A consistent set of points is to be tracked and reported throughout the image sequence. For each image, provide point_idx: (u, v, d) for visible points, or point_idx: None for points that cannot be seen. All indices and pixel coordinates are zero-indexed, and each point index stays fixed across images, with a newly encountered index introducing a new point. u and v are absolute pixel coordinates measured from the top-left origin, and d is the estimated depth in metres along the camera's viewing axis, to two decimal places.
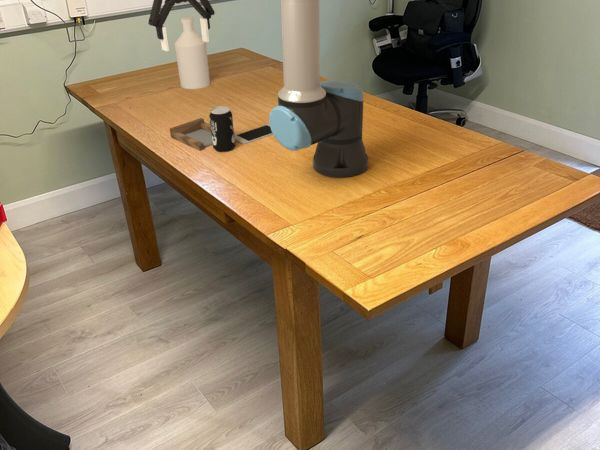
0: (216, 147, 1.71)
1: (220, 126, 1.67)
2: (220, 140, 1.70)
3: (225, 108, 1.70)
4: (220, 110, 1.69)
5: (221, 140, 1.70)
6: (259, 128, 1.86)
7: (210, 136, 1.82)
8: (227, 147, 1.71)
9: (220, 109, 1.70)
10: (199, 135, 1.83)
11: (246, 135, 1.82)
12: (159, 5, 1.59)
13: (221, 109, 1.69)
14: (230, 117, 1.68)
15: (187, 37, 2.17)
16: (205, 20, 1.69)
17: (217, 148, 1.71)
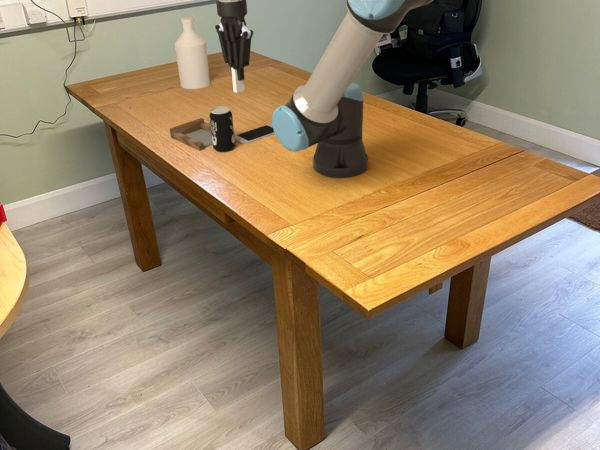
0: (216, 147, 1.71)
1: (220, 126, 1.67)
2: (220, 140, 1.70)
3: (225, 108, 1.70)
4: (220, 110, 1.69)
5: (221, 140, 1.70)
6: (259, 128, 1.86)
7: (210, 136, 1.82)
8: (227, 147, 1.71)
9: (220, 109, 1.70)
10: (199, 135, 1.83)
11: (246, 135, 1.82)
12: (221, 41, 1.54)
13: (221, 109, 1.69)
14: (230, 117, 1.68)
15: (187, 37, 2.17)
16: (233, 69, 1.54)
17: (217, 148, 1.71)
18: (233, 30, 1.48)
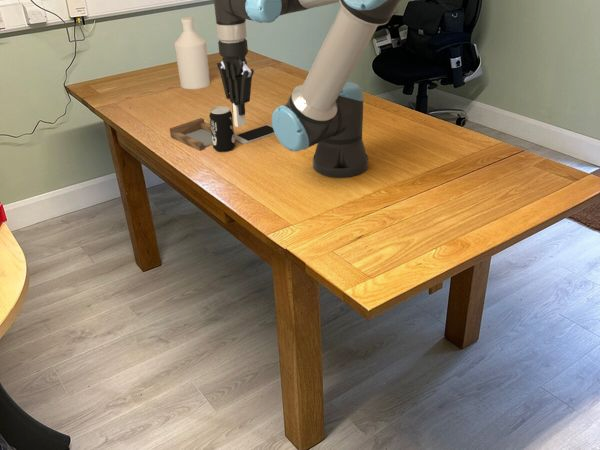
0: (216, 147, 1.71)
1: (220, 126, 1.67)
2: (220, 140, 1.70)
3: (225, 108, 1.70)
4: (220, 110, 1.69)
5: (221, 140, 1.70)
6: (259, 128, 1.86)
7: (210, 136, 1.82)
8: (227, 147, 1.71)
9: (220, 109, 1.70)
10: (199, 135, 1.83)
11: (246, 135, 1.82)
12: (222, 78, 1.59)
13: (221, 109, 1.69)
14: (230, 117, 1.68)
15: (187, 37, 2.17)
16: (235, 105, 1.60)
17: (217, 148, 1.71)
18: (234, 69, 1.53)
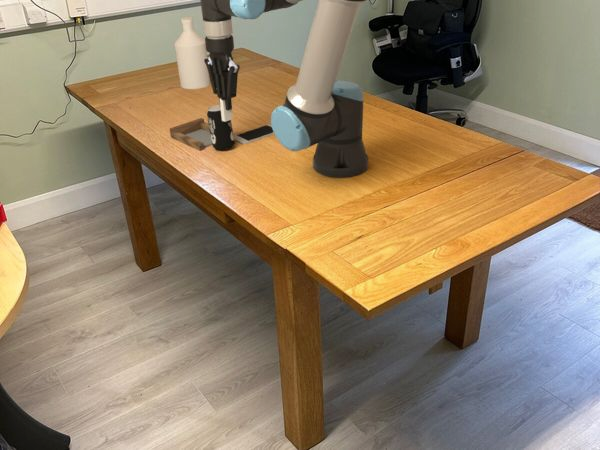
0: (215, 145, 1.71)
1: (218, 123, 1.68)
2: (219, 138, 1.70)
3: None
4: (217, 108, 1.70)
5: (220, 138, 1.70)
6: (259, 128, 1.86)
7: (210, 136, 1.82)
8: (226, 144, 1.71)
9: (218, 107, 1.70)
10: (199, 135, 1.83)
11: (246, 135, 1.82)
12: (210, 74, 1.63)
13: (218, 107, 1.70)
14: None
15: (187, 37, 2.17)
16: (222, 100, 1.64)
17: (217, 146, 1.71)
18: (221, 64, 1.57)
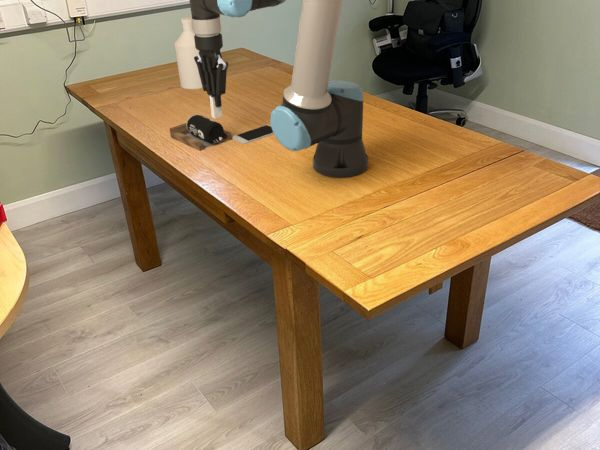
0: (204, 133, 1.73)
1: (194, 121, 1.77)
2: (201, 126, 1.75)
3: None
4: None
5: (201, 125, 1.75)
6: (259, 128, 1.86)
7: None
8: (209, 123, 1.73)
9: None
10: None
11: (246, 135, 1.82)
12: (199, 71, 1.66)
13: None
14: (199, 115, 1.80)
15: (187, 37, 2.17)
16: (211, 97, 1.67)
17: (204, 132, 1.73)
18: (210, 62, 1.60)
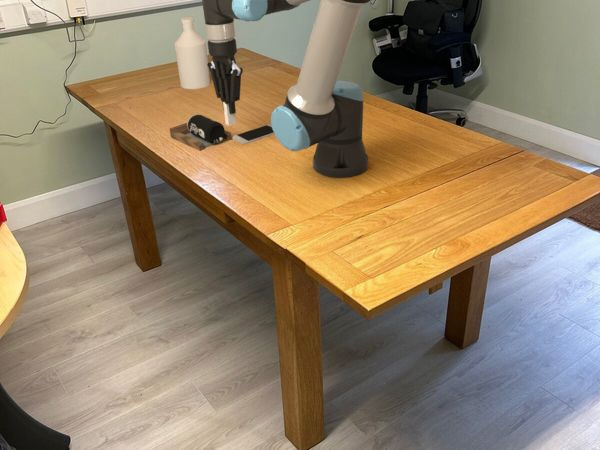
0: (205, 132, 1.74)
1: (195, 120, 1.78)
2: (202, 125, 1.75)
3: None
4: None
5: (203, 124, 1.75)
6: (259, 128, 1.86)
7: None
8: (210, 123, 1.74)
9: None
10: None
11: (246, 135, 1.82)
12: (213, 77, 1.63)
13: None
14: (201, 115, 1.81)
15: (187, 37, 2.17)
16: (225, 104, 1.63)
17: (205, 131, 1.73)
18: (224, 68, 1.57)
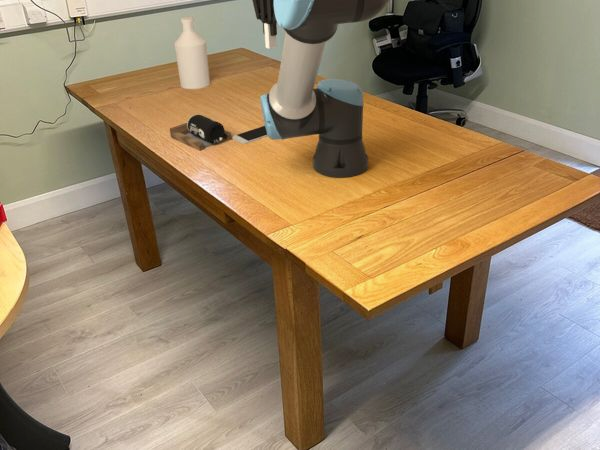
0: (204, 132, 1.74)
1: (195, 120, 1.78)
2: (202, 125, 1.75)
3: None
4: None
5: (202, 124, 1.75)
6: (259, 128, 1.86)
7: None
8: (210, 123, 1.74)
9: None
10: None
11: (246, 134, 1.82)
12: None
13: None
14: (200, 115, 1.81)
15: (187, 37, 2.17)
16: (266, 25, 1.57)
17: (205, 131, 1.73)
18: None
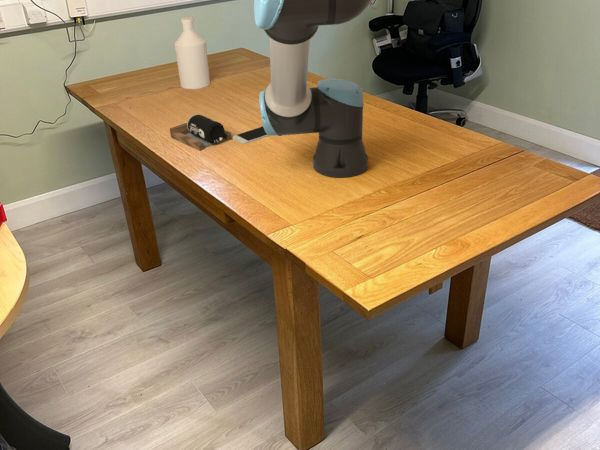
0: (205, 132, 1.74)
1: (195, 120, 1.78)
2: (202, 125, 1.75)
3: None
4: None
5: (202, 124, 1.75)
6: (259, 128, 1.86)
7: None
8: (210, 123, 1.74)
9: None
10: None
11: (246, 134, 1.82)
12: None
13: None
14: (200, 115, 1.81)
15: (187, 37, 2.17)
16: None
17: (205, 131, 1.73)
18: None
